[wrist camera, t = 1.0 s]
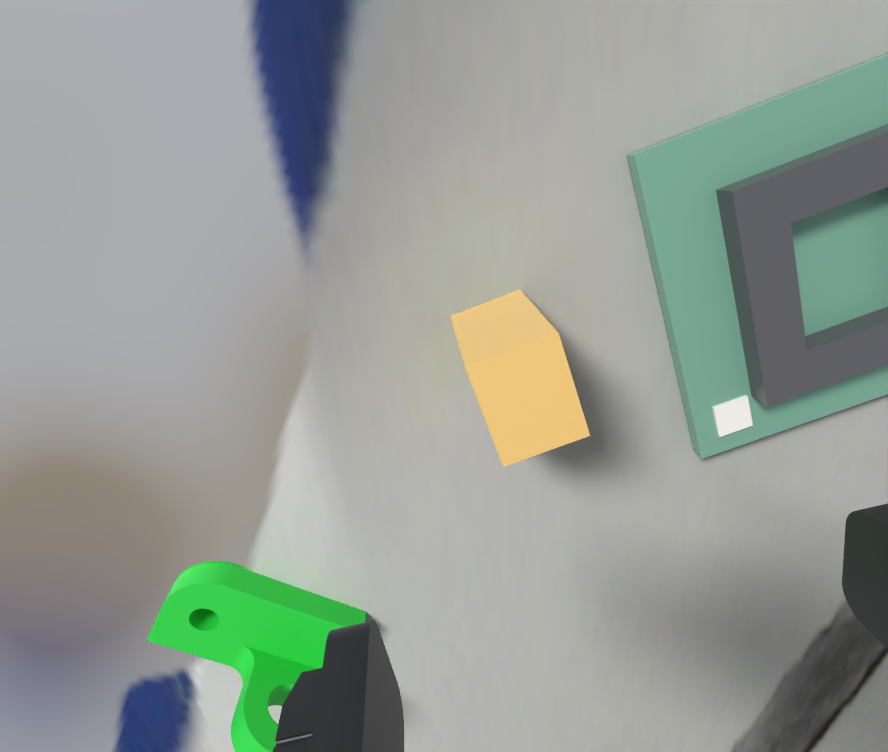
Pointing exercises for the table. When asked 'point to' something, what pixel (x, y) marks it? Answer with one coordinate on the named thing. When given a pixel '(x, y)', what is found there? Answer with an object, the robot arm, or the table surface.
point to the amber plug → (519, 377)
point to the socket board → (816, 240)
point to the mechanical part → (250, 636)
